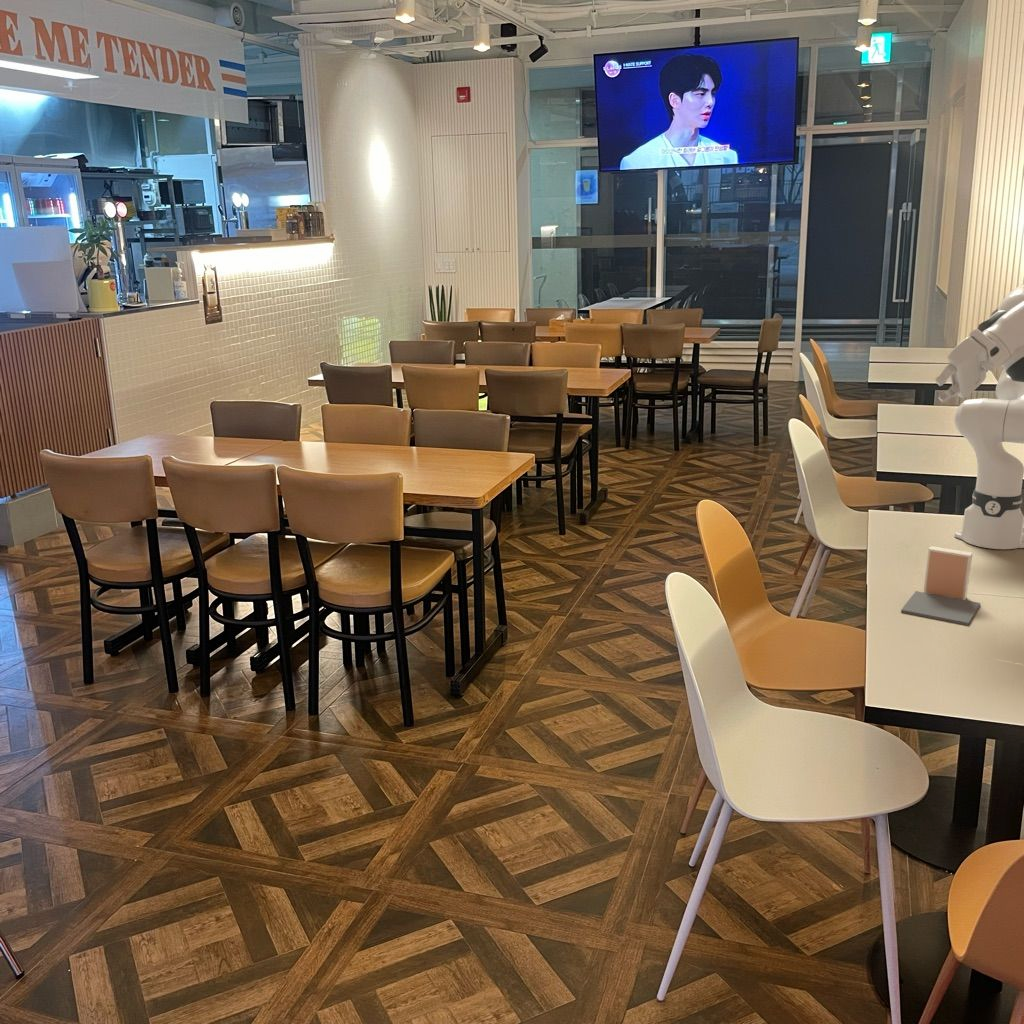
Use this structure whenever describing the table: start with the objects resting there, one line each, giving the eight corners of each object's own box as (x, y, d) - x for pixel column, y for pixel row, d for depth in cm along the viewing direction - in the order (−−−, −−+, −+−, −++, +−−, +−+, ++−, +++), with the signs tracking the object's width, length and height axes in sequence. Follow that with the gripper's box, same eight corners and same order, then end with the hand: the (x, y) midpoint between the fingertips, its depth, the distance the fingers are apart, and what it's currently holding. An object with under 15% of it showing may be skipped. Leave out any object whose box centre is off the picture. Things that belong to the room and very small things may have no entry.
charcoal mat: (915, 593, 232) (915, 590, 232) (980, 605, 225) (980, 602, 225) (900, 612, 221) (901, 609, 221) (968, 625, 214) (968, 622, 214)
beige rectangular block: (925, 590, 235) (931, 546, 232) (966, 597, 230) (972, 552, 227) (923, 593, 232) (928, 549, 229) (964, 601, 228) (970, 556, 225)
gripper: (978, 364, 245) (933, 400, 247) (974, 324, 228) (926, 364, 230) (997, 380, 242) (951, 417, 244) (995, 341, 225) (945, 381, 227)
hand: (939, 391), depth 237 cm, fingers open, 8 cm apart
